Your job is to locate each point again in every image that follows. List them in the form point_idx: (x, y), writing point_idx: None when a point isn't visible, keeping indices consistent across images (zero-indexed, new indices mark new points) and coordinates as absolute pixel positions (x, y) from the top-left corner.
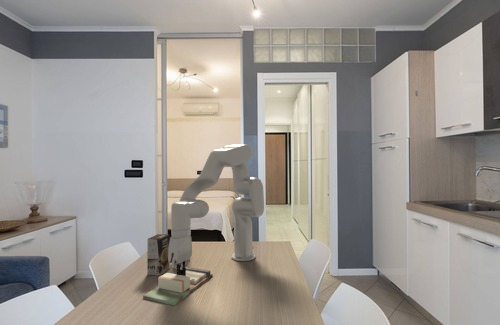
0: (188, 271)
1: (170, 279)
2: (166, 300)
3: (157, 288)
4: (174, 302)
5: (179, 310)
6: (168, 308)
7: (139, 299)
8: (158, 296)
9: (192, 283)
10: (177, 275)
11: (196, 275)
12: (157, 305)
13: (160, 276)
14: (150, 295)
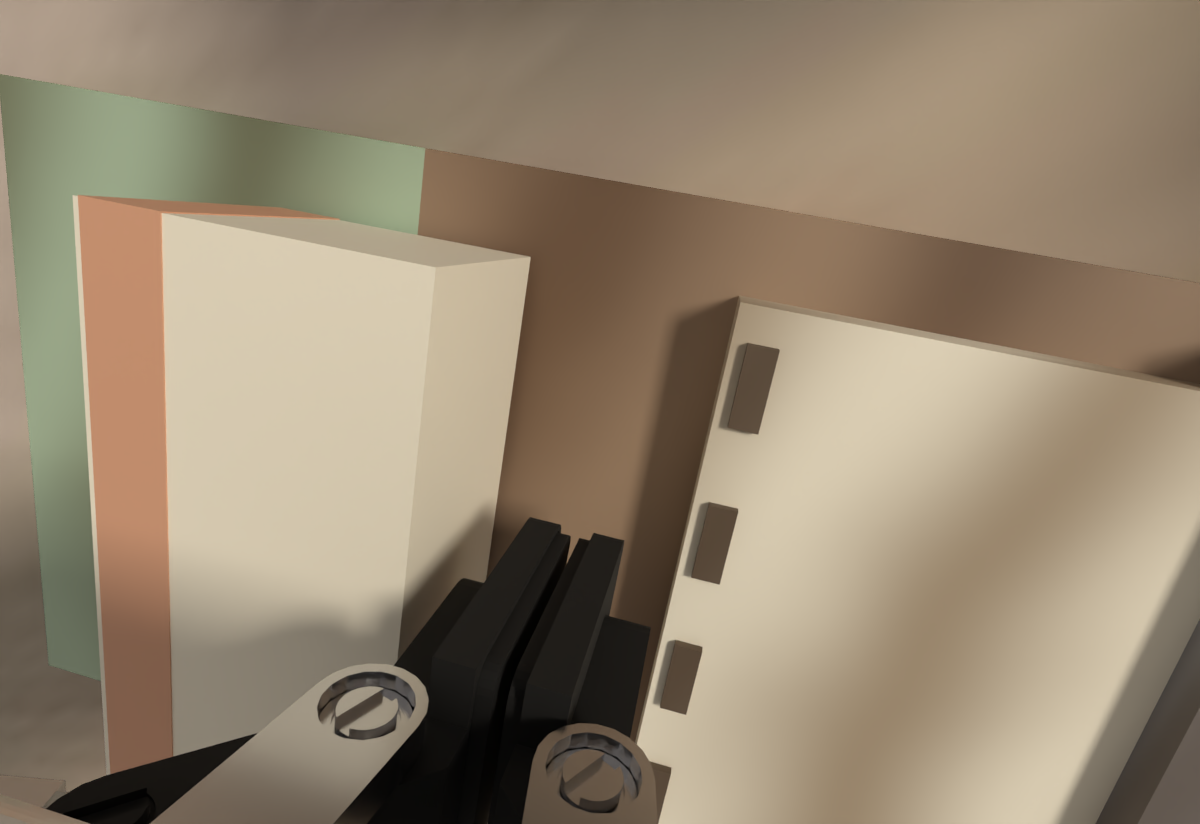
0: (1156, 564)
1: (103, 579)
2: (43, 545)
3: (288, 182)
4: (51, 664)
5: (35, 727)
6: (13, 598)
7: (3, 44)
8: (76, 373)
9: (631, 739)
10: (346, 654)
11: (886, 804)
12: (3, 434)
13: (145, 217)
14: (52, 213)
